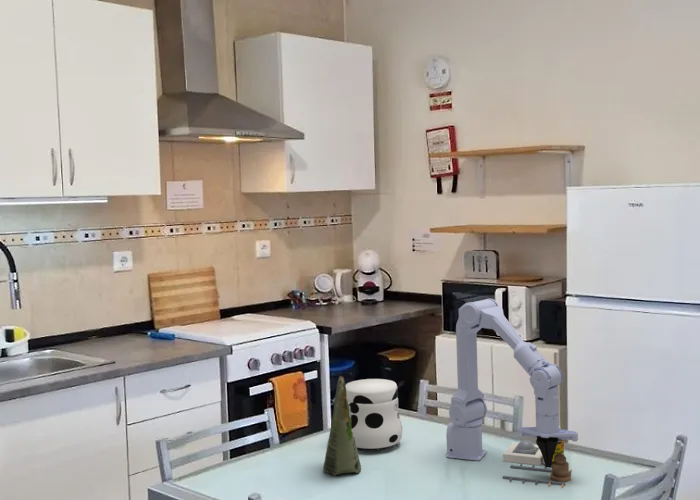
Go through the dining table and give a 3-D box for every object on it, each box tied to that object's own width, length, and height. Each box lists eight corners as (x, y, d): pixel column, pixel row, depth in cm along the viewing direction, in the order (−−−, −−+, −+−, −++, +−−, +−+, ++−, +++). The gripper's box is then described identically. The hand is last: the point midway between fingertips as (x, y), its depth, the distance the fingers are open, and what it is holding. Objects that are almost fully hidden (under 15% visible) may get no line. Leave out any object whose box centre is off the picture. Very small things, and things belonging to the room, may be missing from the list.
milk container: (413, 441, 239) (411, 380, 237) (384, 458, 224) (381, 395, 223) (363, 433, 248) (360, 375, 247) (332, 450, 234) (329, 389, 232)
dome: (514, 458, 219) (513, 442, 219) (518, 452, 224) (518, 436, 223) (533, 460, 217) (533, 444, 216) (537, 454, 221) (537, 438, 221)
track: (500, 480, 204) (500, 478, 204) (512, 464, 215) (512, 462, 215) (563, 488, 197) (563, 486, 197) (572, 471, 208) (572, 469, 208)
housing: (503, 461, 218) (503, 454, 218) (512, 449, 227) (512, 442, 227) (540, 465, 214) (540, 457, 213) (548, 453, 223) (548, 446, 222)
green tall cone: (343, 460, 224) (339, 371, 222) (374, 470, 216) (370, 377, 214) (313, 471, 216) (308, 379, 214) (344, 482, 208) (340, 386, 206)
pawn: (548, 480, 202) (547, 455, 202) (552, 474, 207) (551, 449, 206) (569, 483, 200) (568, 457, 200) (572, 476, 205) (571, 451, 204)
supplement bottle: (554, 469, 210) (553, 430, 209) (538, 463, 215) (537, 426, 214) (568, 464, 213) (567, 426, 212) (552, 459, 218) (551, 421, 217)
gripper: (514, 415, 203) (516, 468, 204) (574, 420, 197) (575, 474, 198) (521, 407, 209) (522, 459, 210) (578, 412, 203) (580, 465, 204)
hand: (548, 466), depth 204 cm, fingers closed
